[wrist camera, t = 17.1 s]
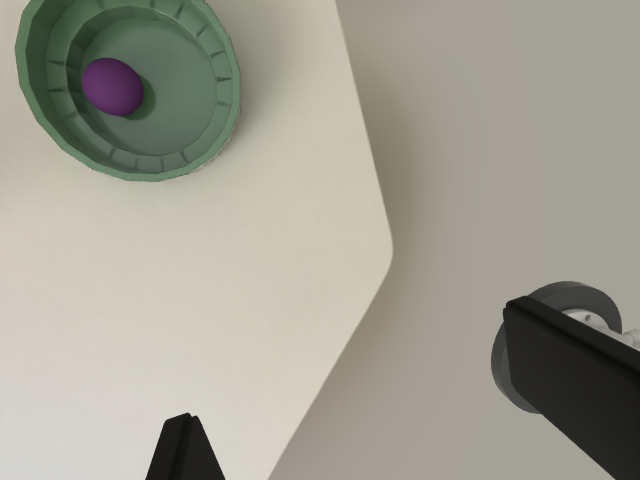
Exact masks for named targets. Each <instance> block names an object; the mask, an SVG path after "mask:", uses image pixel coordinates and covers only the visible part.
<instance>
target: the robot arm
mask: <svg viewBox="0 0 640 480" xmlns="http://www.w3.org/2000/svg"><path fill="white" fill-rule="evenodd" d="M503 319H504V328H505V336H506V345H507V354H508V362H509V371H510V379H511V383H512V386H513V387H514V389H515V390H516V392H517V393H518V394H519V395H521V396H522V397H523V398H524V399H525V400H526V401H527V402H528V403H530V404H531V405H532V406H533V407H534V408H535V409H536V410H538V411H539V412H540V413H541V414H542V415H543V416H544V417H545V418H547V419H548V420H549V421H550V422H551V423H552V424H553V425H554V426H556V427H557V428H558V429H559V430H560V431H561V432H562V433H564V434H565V435H566V436H567V437H568V438H569V439H570V440H572V441H573V442H574V443H575V444H576V445H577V446H578V447H579V448H580V449H582V450H583V451H584V452H585V453H586V454H588V456H590V457H591V458H592V459H593V460H594V461H595V462H596V463H597V464H599V465H600V466H601V467H602V468H603V469H604V470H606V472H608V473H609V474H610V475H611V476H612V477H613V478H614V479H616V480H640V331H638V330H636V329H634V330H631V331H628V332H626V333H624V334H623V335H621V334H618V333H616V332H614V331H612V330H610V329H609V328H608V325H607V324H606V322H605V321H604V320H603V319H602V318H601V317H600V316H599V315H597V314H595V313H593V312H590V311H588V310H584V309H569V310H565V311H562V312H560V311H558V310H556V309H554V308H552V307H550V306H548V305H546V304H544V303H542V302H540V301H538V300H536V299H534V298H532V297H530V296H522V297H520V298H516V299H514V300H511V301H508V302H507V303H506V308H504V309H503ZM637 341H638V342H637ZM632 343H633V344H632ZM145 480H225V477H224V475H223V473H222V470H221V468H220V466H219V463H218V461H217V459H216V457H215V454H214V452H213V450H212V447H211V445H210V443H209V440H208V438H207V436H206V433H205V431H204V429H203V426H202V424H201V422H200V419H199V418H198V416H193V417H192V416H191V415H190V414H189V413H185V414H182V415H179V416H176V417H173V418H170V419H167V420H166V421H165V423H164V425H163V428H162V431H161V434H160V437H159V440H158V443H157V446H156V449H155V452H154V455H153V458H152V461H151V464H150V467H149V470H148V473H147V476H146V479H145Z"/></svg>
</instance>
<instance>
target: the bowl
mask: <svg viewBox="0 0 640 480" xmlns="http://www.w3.org/2000/svg"><path fill="white" fill-rule="evenodd" d="M15 55H16V62H17V69H18V77H19V84H20V87H21V89H22V91H23V93H24V96H25V98H26V100H27V102H28V104H29V106H30V108H31V110H32V112H33V114H34V117H35V119H36V120H37V122H38V123H39V124H40V125H41V126H42V127H43V128H44V130H45V131H46V132H47V133H48V134H49V135H50V136H51V138H52V139H53V140H54V141H55V142H56V143H57V144H58V145H59V147H60V148H61V149H62V150H64V151H65V152H67V153H68V154H70V155H71V156H73V157H74V158H76V159H77V160H79V161H80V162H82V163H83V164H85V165H86V166H88V167H89V168H91V169H93V170H95V171H98V172H101V173H104V174H107V175H110V176H113V177H117V178H120V179H123V180H127V181H150V182H160V181H164V180H167V179H171V178H175V177H178V176H182V175H186V174H189V173H192V172H195V171H197V170H198V169H200V168H201V167H203V166H204V165H206V164H207V163H209V162H210V161H212V160H213V159H215V158H216V157H217V156H218V155H219V154H220V153H221V151H222V150H223V149H224V147H225V146H226V145H227V143H228V142H229V141H230V139H231V138H232V136H233V134H234V131H235V128H236V125H237V122H238V119H239V115H240V112H241V78H240V69H239V66H238V63H237V59H236V56H235V53H234V49H233V46H232V43H231V40H230V37H229V36H228V34H227V33H226V31H225V29H224V28H223V26H222V25H221V23H220V21H219V20H218V18H217V17H216V15H215V13H214V12H213V10H212V9H211V8H210V6H209V5H208V4H206V3H205V2H204V1H203V0H31V1H30V2H29V3H28V5H27V6H26V8H25V9H24V11H23V13H22V16H21V21H20V25H19V30H18V35H17V39H16V44H15ZM99 58H114V59H117V60H120V61H122V62H124V63H126V64H127V65H129V66H130V67H131V68H132V69H133V70H134V71H135V72H136V73H137V75H138V76H139V78H140V80H141V82H142V85H143V91H144V95H143V100H142V103H141V104H140V106H139V107H138V108H137V109H136V110H135V111H134V112H132V113H130V114H127V115H122V116H115V115H110V114H107V113H104V112H102V111H101V110H99V109H97V108H96V107H95V106H94V105H93V104H92V103H91V102H90V101H89V100H88V99H87V97H86V95H85V93H84V91H83V88H82V74H83V71H84V69H85V67H86V66H87V65H88V64H89V63H90V62H92V61H93V60H96V59H99Z"/></svg>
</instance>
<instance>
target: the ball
mask: <svg viewBox="0 0 640 480" xmlns="http://www.w3.org/2000/svg"><path fill="white" fill-rule="evenodd" d="M82 88H83V91H84V93H85V95H86V97H87V99H88V100H89V101H90V102H91V103H92V104H93V105H94V106H95V107H96V108H97V109H99V110H101V111H102V112H104V113H107V114H110V115H115V116H122V115H127V114H130V113H132V112H134V111H135V110H136V109H137V108H138V107H139V106H140V104H141V103H142V100H143V95H144V91H143V85H142V82H141V80H140V78H139V76H138V75H137V73H136V72H135V71H134V70H133V69H132V68H131V67H130V66H129V65H127V64H126V63H124V62H122V61H120V60H117V59H114V58H99V59H96V60H93V61H92V62H90V63H89V64H88V65H87V66H86V67H85V69H84V71H83V74H82Z"/></svg>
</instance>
